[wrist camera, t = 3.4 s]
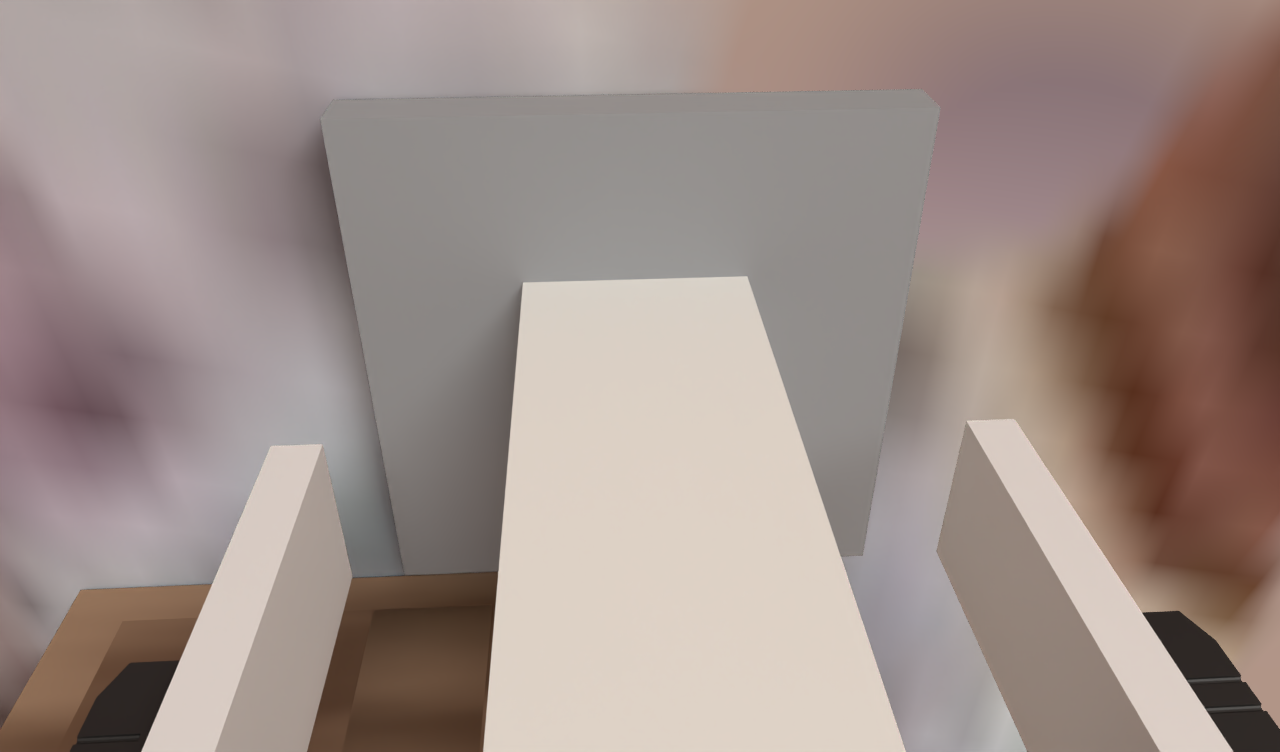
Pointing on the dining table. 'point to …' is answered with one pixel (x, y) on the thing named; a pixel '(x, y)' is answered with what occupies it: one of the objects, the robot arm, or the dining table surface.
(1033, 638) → the robot arm
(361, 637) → the socket block
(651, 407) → the plug
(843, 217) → the panel
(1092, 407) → the dining table surface
